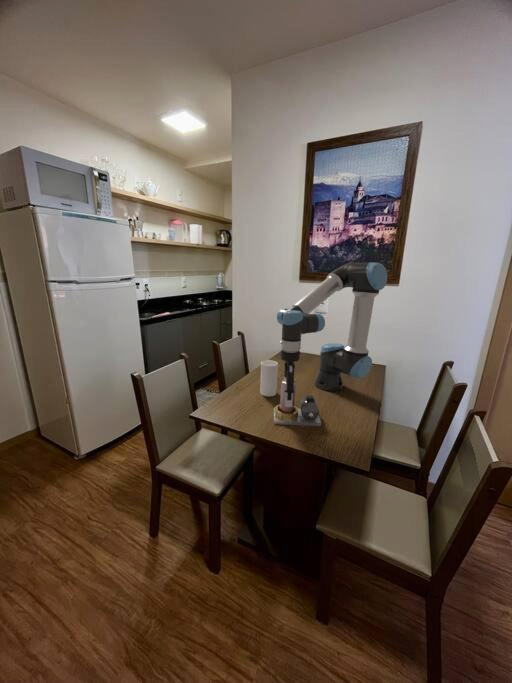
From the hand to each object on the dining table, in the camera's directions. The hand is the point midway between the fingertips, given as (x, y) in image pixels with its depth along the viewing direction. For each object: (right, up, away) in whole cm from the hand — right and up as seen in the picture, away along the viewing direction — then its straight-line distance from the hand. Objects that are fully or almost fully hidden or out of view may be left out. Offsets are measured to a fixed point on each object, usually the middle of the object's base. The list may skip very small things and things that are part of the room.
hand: (287, 398), depth 115 cm
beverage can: (0, -7, +2) cm, 7 cm away
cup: (-7, -2, +25) cm, 26 cm away
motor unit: (+4, -9, +2) cm, 10 cm away
